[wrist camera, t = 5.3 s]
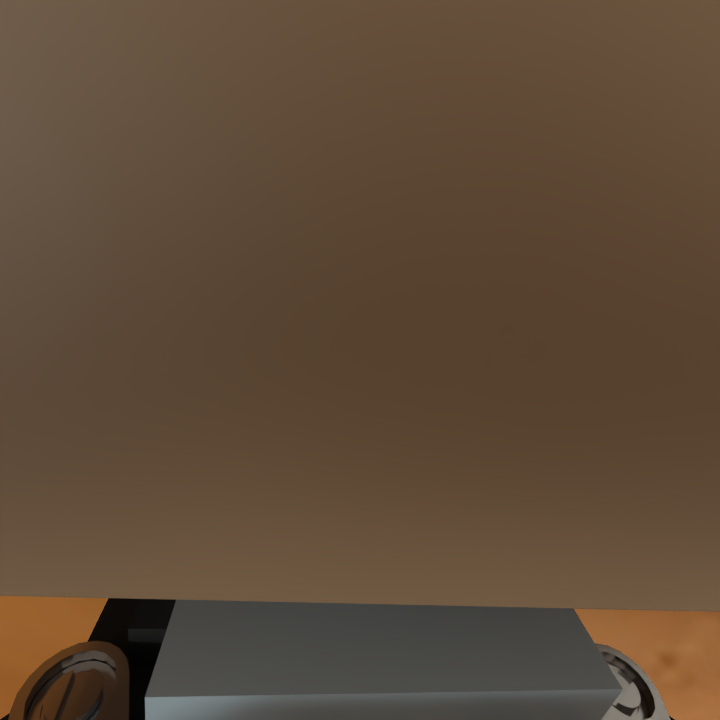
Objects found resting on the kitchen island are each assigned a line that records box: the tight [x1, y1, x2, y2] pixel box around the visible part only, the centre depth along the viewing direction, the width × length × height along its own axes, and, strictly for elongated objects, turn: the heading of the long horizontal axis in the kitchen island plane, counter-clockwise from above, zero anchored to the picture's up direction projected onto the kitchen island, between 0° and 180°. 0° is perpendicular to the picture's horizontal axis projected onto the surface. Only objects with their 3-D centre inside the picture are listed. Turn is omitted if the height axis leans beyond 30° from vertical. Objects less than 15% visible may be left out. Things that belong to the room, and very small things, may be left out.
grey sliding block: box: [145, 600, 623, 720], centre depth 8 cm, size 5×6×6 cm
